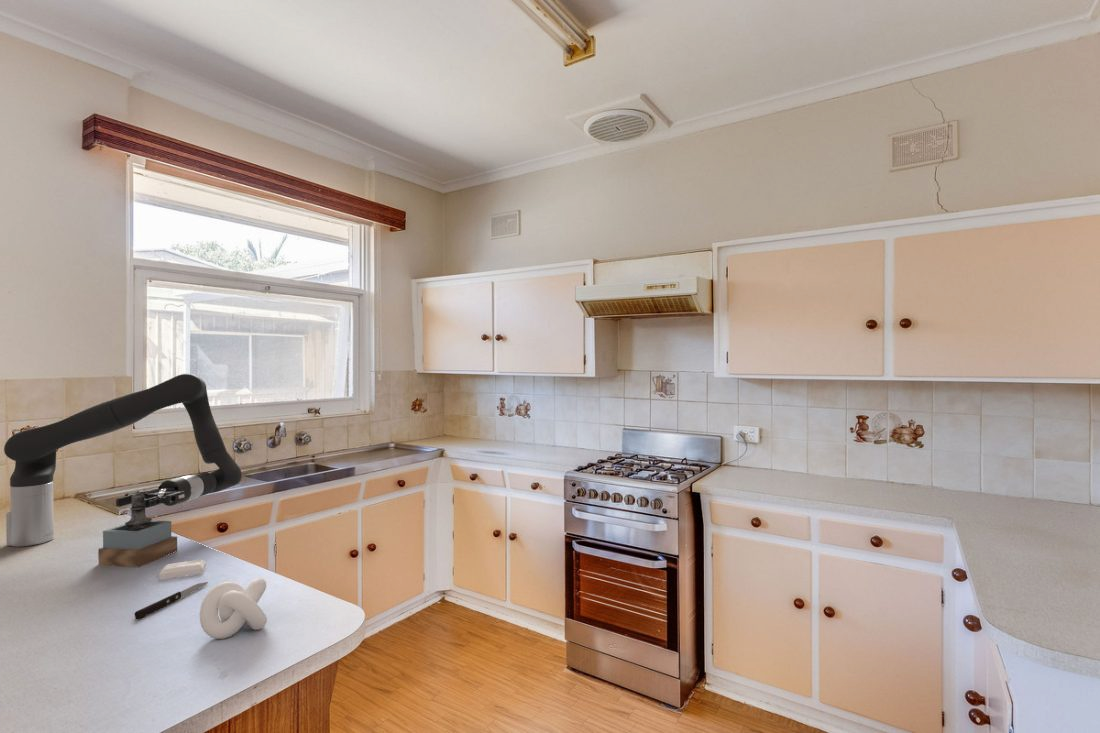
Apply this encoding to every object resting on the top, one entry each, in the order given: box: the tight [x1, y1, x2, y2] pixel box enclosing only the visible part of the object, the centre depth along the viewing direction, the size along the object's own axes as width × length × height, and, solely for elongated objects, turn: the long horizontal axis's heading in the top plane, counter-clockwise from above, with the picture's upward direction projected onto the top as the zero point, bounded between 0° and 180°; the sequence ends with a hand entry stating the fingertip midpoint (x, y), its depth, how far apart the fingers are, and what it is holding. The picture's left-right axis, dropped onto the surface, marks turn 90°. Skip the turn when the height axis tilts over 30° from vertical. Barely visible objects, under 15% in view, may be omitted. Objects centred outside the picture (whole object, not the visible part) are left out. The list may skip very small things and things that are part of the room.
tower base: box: [97, 535, 178, 568], centre depth 146 cm, size 12×12×4 cm
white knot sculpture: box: [199, 577, 268, 640], centre depth 107 cm, size 11×12×9 cm
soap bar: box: [158, 559, 207, 581], centre depth 135 cm, size 5×9×3 cm, turn 115°
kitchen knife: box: [134, 581, 209, 621], centre depth 119 cm, size 18×1×2 cm, turn 169°
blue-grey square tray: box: [102, 519, 172, 550], centre depth 146 cm, size 10×10×4 cm
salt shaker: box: [124, 490, 153, 531], centre depth 147 cm, size 6×6×12 cm
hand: (130, 503), depth 145 cm, fingers open, 8 cm apart
